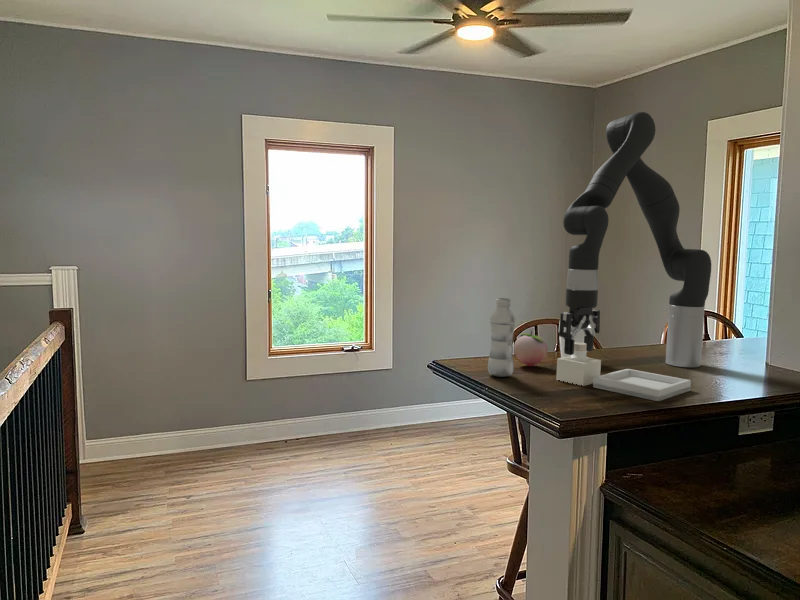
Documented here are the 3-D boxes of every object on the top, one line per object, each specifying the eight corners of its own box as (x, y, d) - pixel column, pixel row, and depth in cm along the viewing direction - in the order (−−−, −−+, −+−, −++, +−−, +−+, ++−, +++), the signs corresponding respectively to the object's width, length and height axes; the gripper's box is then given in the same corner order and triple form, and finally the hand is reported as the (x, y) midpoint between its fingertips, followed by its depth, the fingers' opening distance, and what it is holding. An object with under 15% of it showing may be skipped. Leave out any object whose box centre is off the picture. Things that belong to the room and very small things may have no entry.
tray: (626, 378, 154) (627, 368, 154) (690, 390, 142) (690, 380, 142) (593, 387, 144) (593, 376, 143) (658, 401, 132) (659, 390, 131)
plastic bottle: (491, 372, 158) (494, 297, 156) (516, 375, 155) (519, 298, 153) (483, 377, 152) (486, 298, 150) (509, 380, 149) (512, 300, 147)
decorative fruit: (506, 365, 168) (507, 330, 167) (526, 362, 172) (527, 327, 171) (532, 371, 160) (533, 334, 159) (552, 368, 165) (553, 332, 164)
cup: (591, 365, 170) (593, 323, 169) (558, 363, 172) (560, 322, 170) (587, 359, 179) (589, 319, 177) (556, 357, 180) (558, 318, 179)
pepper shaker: (570, 378, 153) (572, 341, 152) (586, 380, 151) (588, 342, 150) (569, 381, 149) (570, 344, 148) (585, 383, 148) (587, 345, 147)
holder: (573, 376, 155) (574, 355, 155) (599, 381, 150) (601, 359, 149) (556, 380, 150) (557, 358, 150) (583, 385, 145) (584, 363, 144)
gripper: (584, 285, 155) (581, 347, 157) (552, 287, 146) (549, 353, 148) (611, 288, 150) (607, 352, 151) (579, 289, 140) (575, 358, 142)
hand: (578, 352), depth 149 cm, fingers open, 8 cm apart
